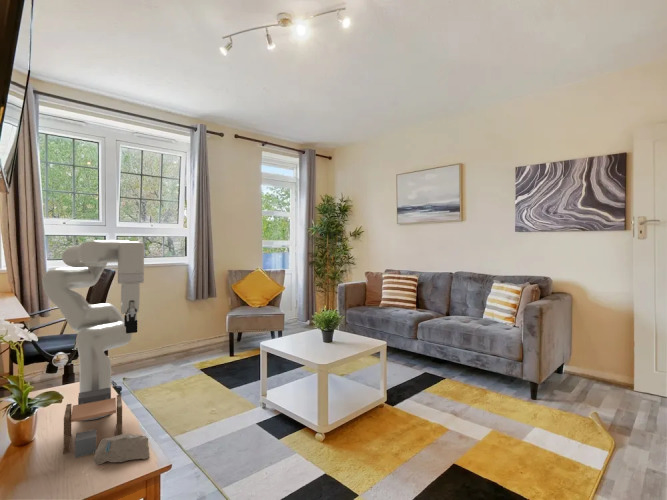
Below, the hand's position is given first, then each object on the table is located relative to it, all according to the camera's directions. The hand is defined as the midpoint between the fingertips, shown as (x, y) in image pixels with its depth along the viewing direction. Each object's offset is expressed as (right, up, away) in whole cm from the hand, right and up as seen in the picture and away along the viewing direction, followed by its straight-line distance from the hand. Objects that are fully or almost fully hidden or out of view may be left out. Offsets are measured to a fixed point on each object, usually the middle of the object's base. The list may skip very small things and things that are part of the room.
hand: (130, 329), depth 119 cm
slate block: (-8, -31, -10) cm, 34 cm away
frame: (-8, -33, -6) cm, 35 cm away
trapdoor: (-10, -25, -3) cm, 27 cm away
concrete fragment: (+7, -34, -15) cm, 38 cm away
